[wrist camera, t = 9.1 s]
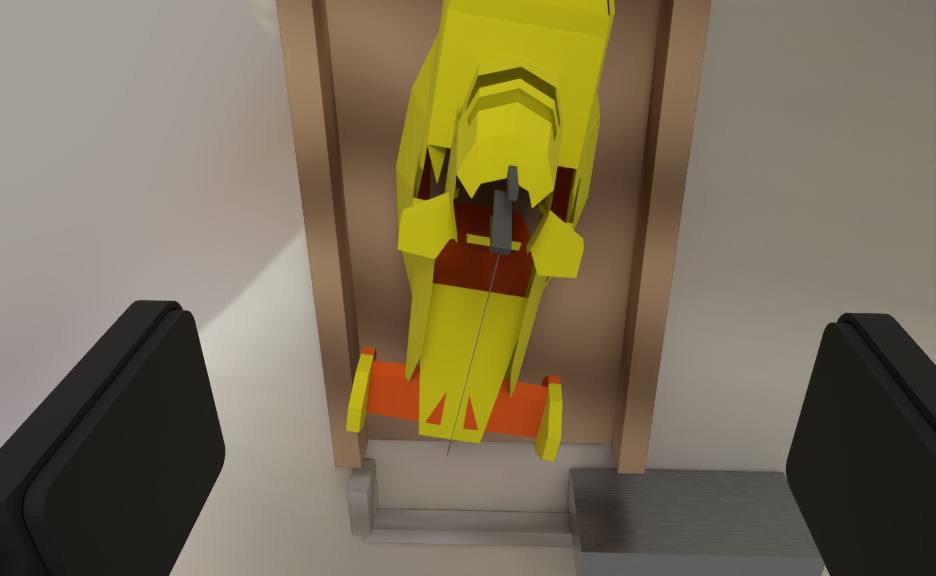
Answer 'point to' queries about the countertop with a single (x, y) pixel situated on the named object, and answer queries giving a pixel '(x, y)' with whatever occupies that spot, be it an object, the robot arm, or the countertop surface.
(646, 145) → the bay
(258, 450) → the countertop surface
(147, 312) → the robot arm
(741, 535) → the grey rectangular block
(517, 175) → the toy boat
